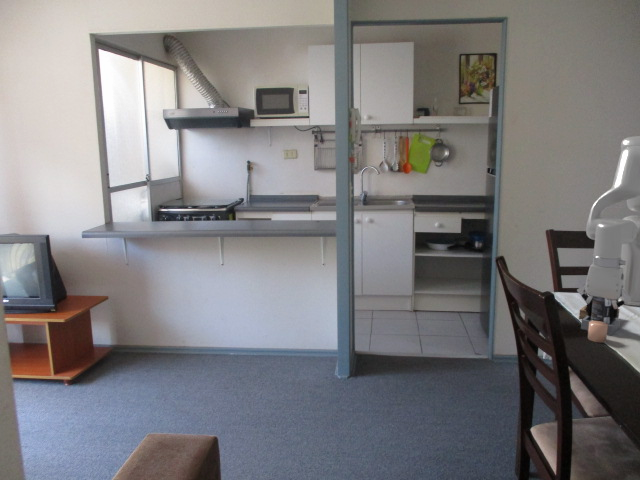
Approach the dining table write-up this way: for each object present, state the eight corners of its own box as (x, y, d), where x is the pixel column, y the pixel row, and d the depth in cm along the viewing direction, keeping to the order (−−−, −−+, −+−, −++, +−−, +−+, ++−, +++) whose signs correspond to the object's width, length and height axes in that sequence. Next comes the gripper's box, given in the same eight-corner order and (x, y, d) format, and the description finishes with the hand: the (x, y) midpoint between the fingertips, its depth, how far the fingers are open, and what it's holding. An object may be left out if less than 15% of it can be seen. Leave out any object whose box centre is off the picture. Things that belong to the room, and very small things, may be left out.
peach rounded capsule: (590, 335, 167) (592, 319, 166) (608, 339, 163) (609, 323, 162) (585, 339, 163) (586, 323, 162) (603, 343, 160) (605, 327, 159)
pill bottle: (613, 328, 169) (617, 293, 166) (593, 327, 170) (596, 292, 168) (607, 321, 174) (611, 287, 172) (587, 320, 176) (590, 287, 173)
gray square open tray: (589, 321, 178) (590, 312, 178) (618, 327, 173) (620, 317, 172) (580, 328, 172) (581, 318, 171) (611, 335, 166) (612, 325, 165)
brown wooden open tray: (587, 312, 188) (588, 303, 187) (618, 318, 181) (619, 309, 181) (579, 319, 181) (579, 310, 180) (610, 325, 174) (611, 316, 174)
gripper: (640, 264, 165) (634, 320, 169) (580, 255, 176) (576, 308, 180) (634, 268, 160) (628, 326, 163) (573, 260, 171) (568, 314, 175)
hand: (601, 316), depth 172 cm, fingers closed on pill bottle, 6 cm apart
